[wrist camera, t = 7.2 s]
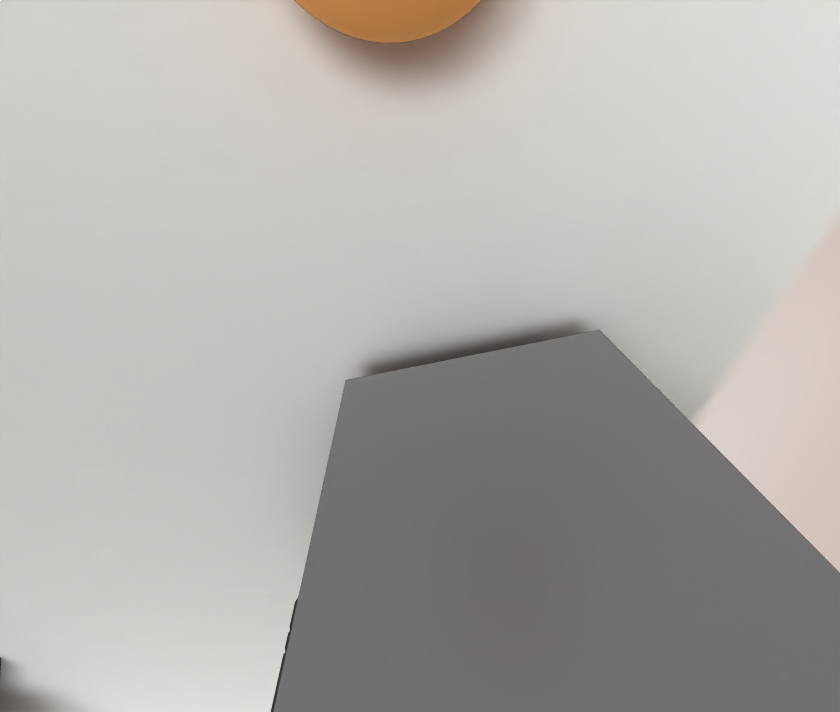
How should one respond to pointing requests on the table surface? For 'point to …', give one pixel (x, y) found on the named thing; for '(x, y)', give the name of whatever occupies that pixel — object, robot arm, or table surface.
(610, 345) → the grey block
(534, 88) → the table surface
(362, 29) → the ball
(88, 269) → the table surface
